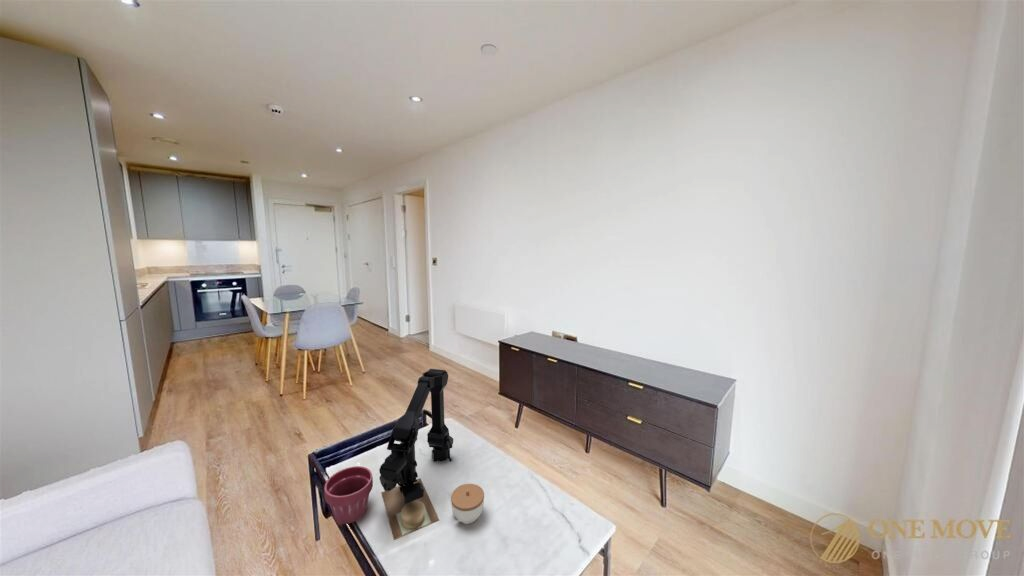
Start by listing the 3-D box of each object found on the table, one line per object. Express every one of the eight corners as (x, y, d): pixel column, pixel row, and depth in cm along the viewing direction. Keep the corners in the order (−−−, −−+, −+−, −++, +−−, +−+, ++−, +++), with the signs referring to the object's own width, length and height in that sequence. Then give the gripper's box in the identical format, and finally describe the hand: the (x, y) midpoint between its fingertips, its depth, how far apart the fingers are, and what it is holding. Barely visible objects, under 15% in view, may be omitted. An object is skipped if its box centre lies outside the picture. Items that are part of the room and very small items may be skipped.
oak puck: (421, 508, 111) (421, 497, 111) (426, 524, 105) (426, 512, 105) (400, 516, 108) (399, 505, 108) (403, 533, 102) (403, 521, 101)
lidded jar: (489, 508, 113) (489, 483, 112) (475, 534, 103) (475, 507, 102) (461, 500, 116) (460, 475, 115) (445, 524, 106) (444, 498, 105)
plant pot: (383, 508, 113) (381, 474, 111) (346, 541, 100) (343, 503, 99) (355, 493, 119) (353, 460, 118) (317, 522, 107) (314, 486, 105)
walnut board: (420, 481, 126) (420, 478, 125) (439, 523, 107) (439, 520, 107) (381, 495, 118) (381, 492, 118) (394, 543, 100) (394, 540, 100)
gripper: (375, 452, 115) (378, 492, 117) (386, 486, 99) (389, 532, 101) (408, 441, 121) (410, 480, 123) (423, 472, 105) (425, 516, 107)
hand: (408, 500), depth 113 cm, fingers closed
